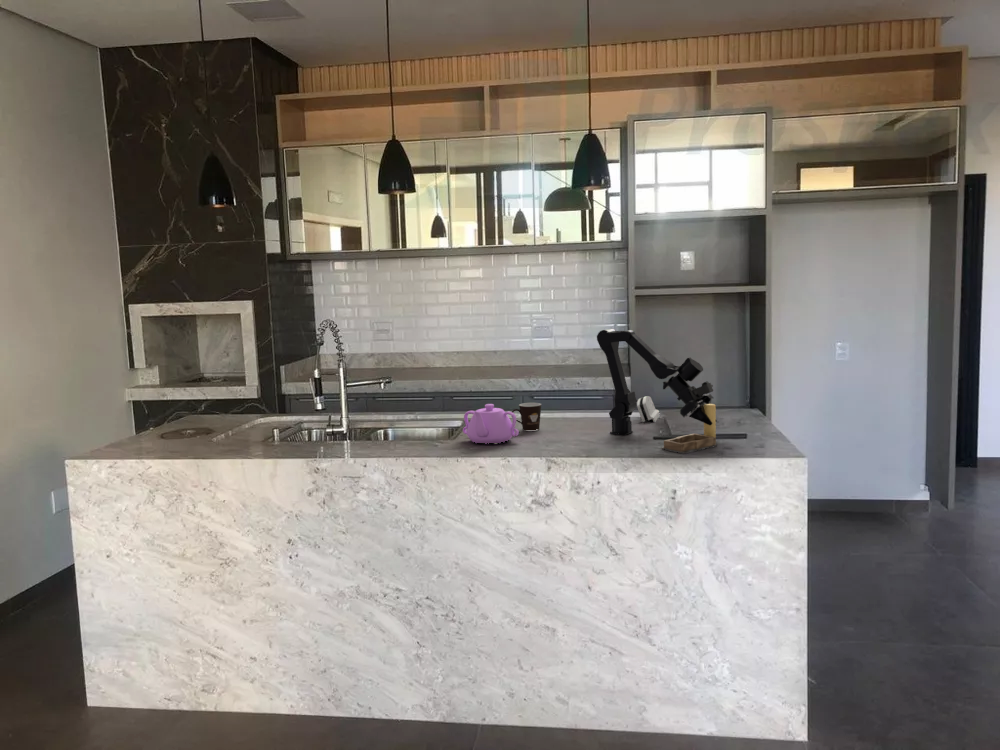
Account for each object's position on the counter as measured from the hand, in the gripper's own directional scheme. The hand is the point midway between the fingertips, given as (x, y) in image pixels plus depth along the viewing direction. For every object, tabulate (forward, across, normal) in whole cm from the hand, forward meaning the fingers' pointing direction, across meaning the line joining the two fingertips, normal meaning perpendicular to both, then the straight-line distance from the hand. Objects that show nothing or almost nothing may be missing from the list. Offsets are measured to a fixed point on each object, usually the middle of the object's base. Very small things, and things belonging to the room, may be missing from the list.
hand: (713, 423), depth 270 cm
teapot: (-46, -35, +56) cm, 80 cm away
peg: (+4, 0, +6) cm, 7 cm away
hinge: (-22, +31, +32) cm, 50 cm away
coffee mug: (-45, -10, +55) cm, 72 cm away
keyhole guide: (+1, -12, +8) cm, 14 cm away
